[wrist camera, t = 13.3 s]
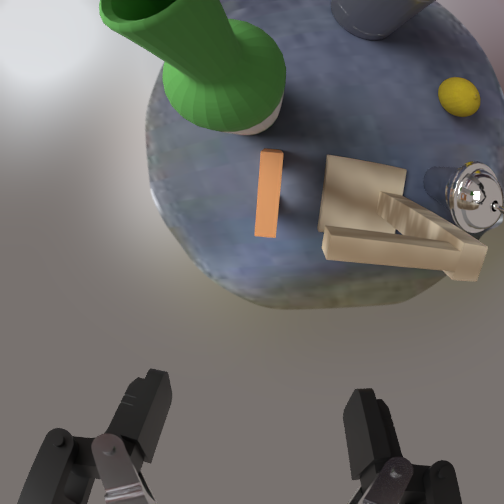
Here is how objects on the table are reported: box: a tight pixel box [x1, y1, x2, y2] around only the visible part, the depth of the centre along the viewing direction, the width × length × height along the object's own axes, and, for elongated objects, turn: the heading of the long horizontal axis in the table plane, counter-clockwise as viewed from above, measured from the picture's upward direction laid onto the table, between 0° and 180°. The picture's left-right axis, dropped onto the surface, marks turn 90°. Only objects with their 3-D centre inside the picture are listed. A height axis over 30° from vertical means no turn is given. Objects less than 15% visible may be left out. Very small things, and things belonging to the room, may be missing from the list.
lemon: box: [438, 77, 480, 117], centre depth 24 cm, size 6×6×8 cm
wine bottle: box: [99, 0, 286, 135], centre depth 18 cm, size 8×8×30 cm
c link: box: [255, 148, 283, 238], centre depth 30 cm, size 8×2×10 cm, turn 176°
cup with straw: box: [423, 161, 504, 233], centre depth 24 cm, size 8×9×20 cm
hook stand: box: [317, 155, 488, 282], centre depth 26 cm, size 10×14×20 cm
